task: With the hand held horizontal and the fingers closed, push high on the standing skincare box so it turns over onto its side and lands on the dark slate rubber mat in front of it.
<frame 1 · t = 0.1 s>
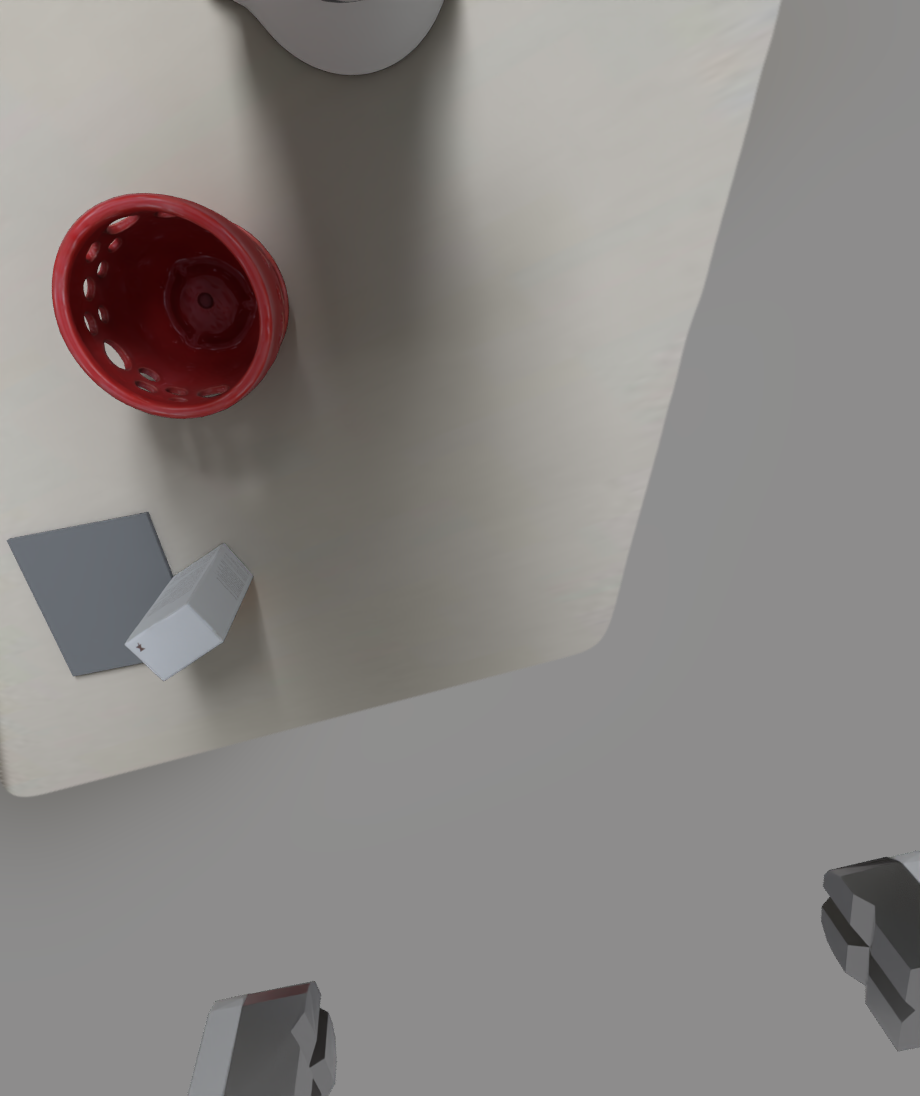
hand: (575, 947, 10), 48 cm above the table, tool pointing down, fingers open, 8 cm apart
plant pot: (215, 306, 50), on the table
skincare box: (215, 574, 58), on the table
slate mat: (110, 596, 58), on the table
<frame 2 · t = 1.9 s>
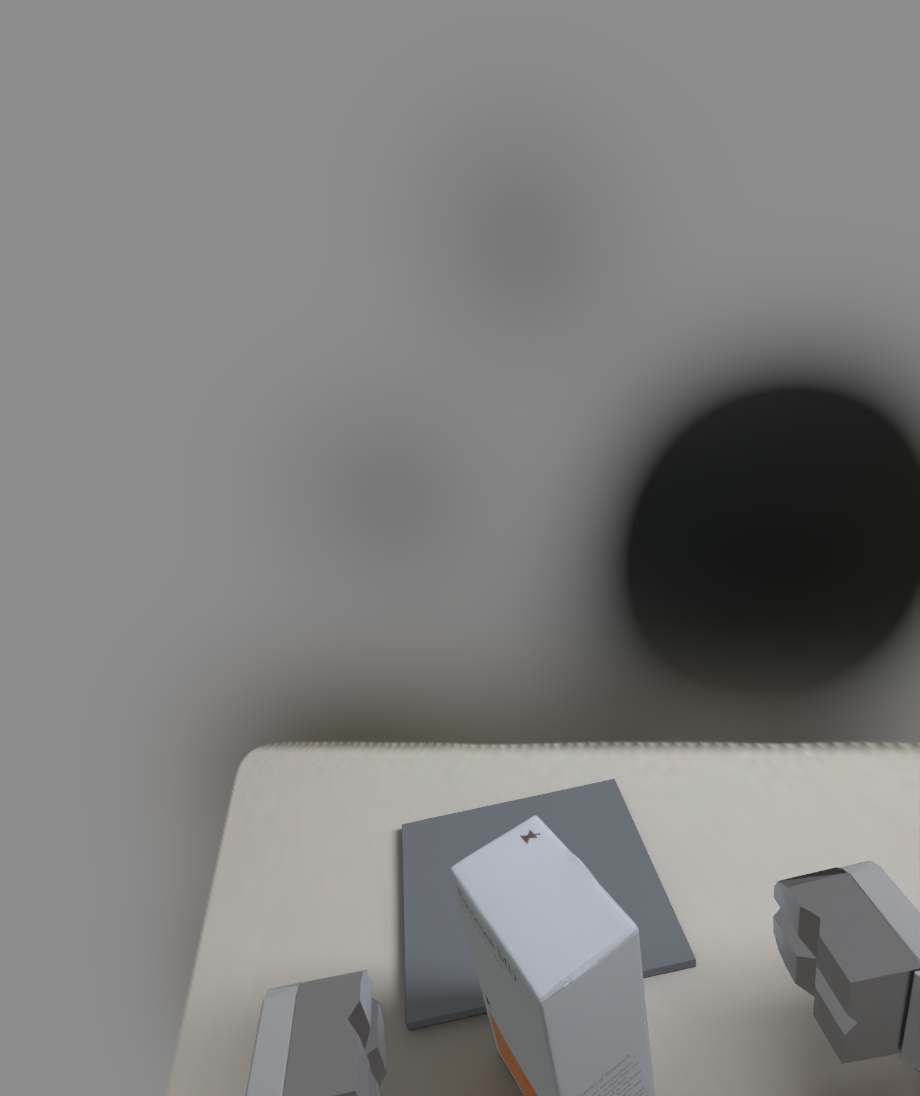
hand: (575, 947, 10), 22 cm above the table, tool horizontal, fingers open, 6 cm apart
skincare box: (573, 1088, 27), on the table
slate mat: (528, 888, 36), on the table
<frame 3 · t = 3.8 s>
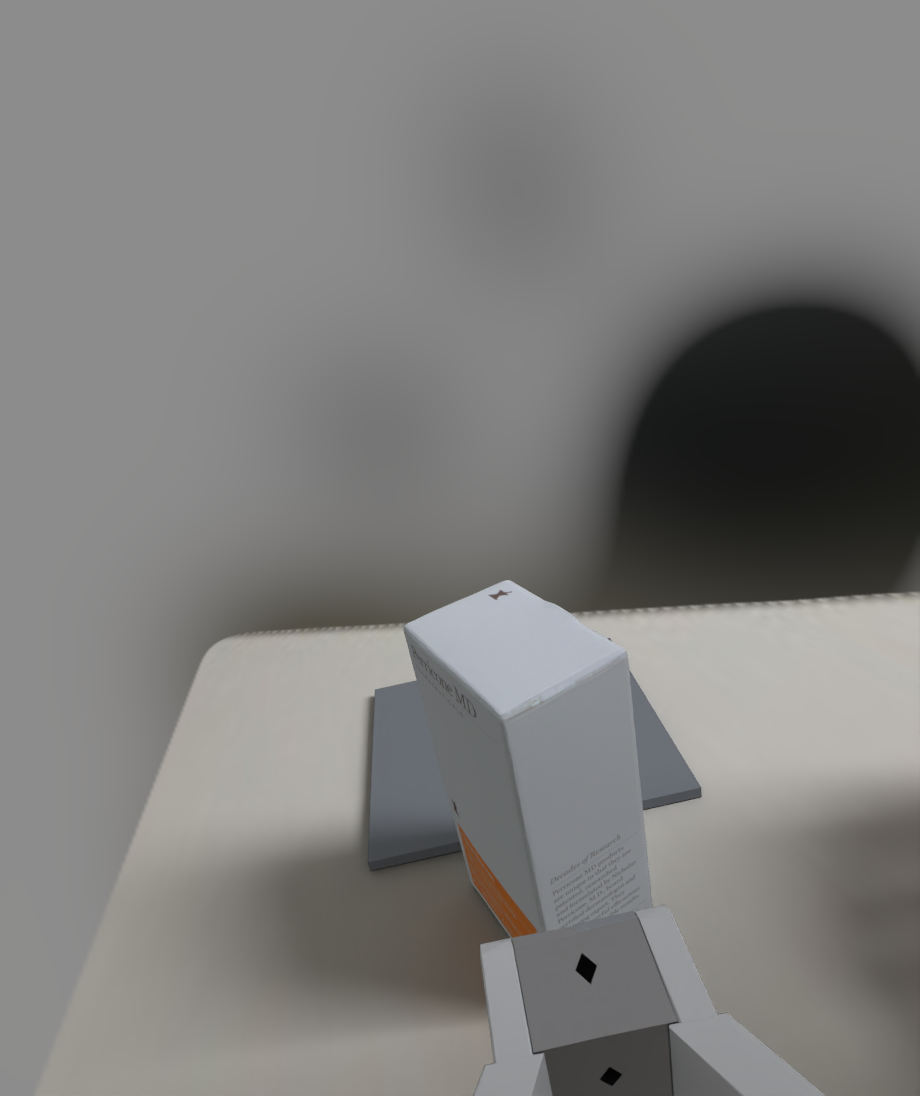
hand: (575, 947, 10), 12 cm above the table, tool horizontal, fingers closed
skincare box: (558, 916, 23), on the table
slate mat: (511, 738, 32), on the table
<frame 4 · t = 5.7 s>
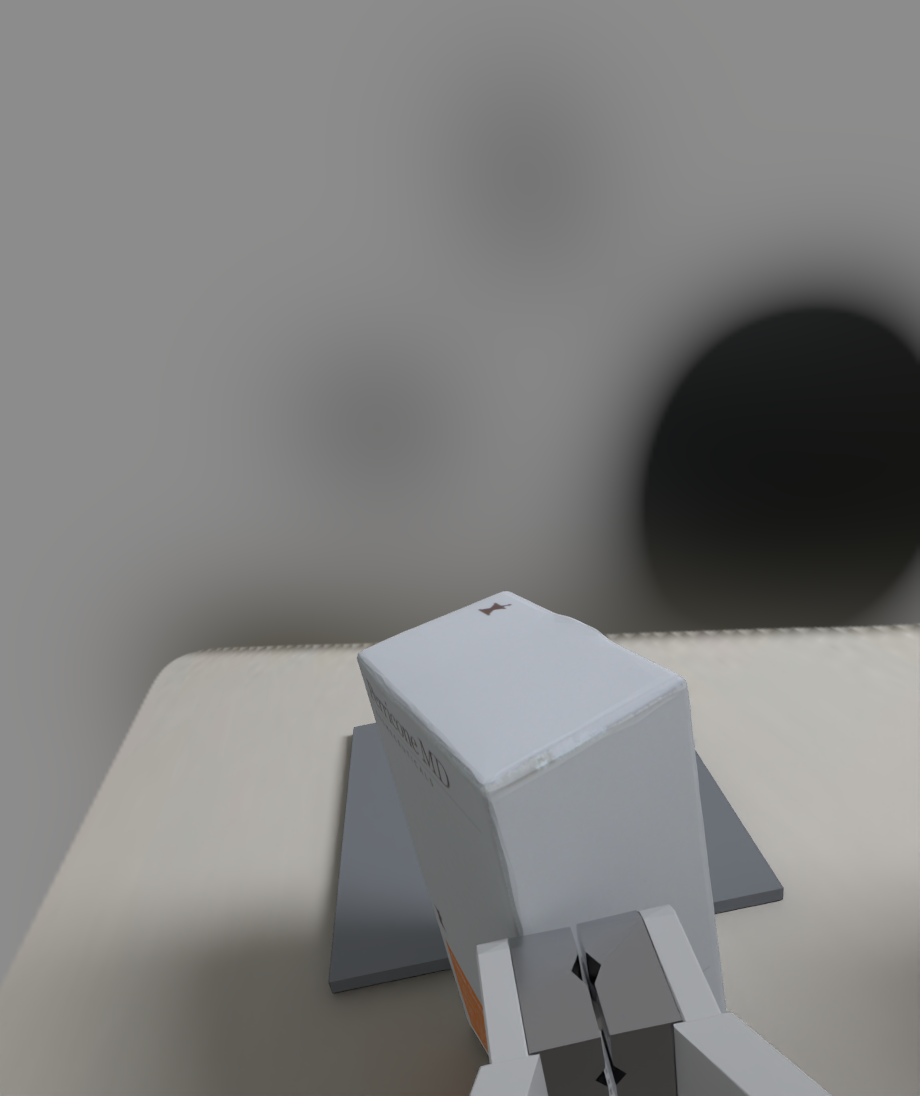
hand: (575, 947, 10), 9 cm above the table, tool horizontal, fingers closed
skincare box: (592, 1080, 16), on the table, touching gripper
slate mat: (523, 799, 25), on the table
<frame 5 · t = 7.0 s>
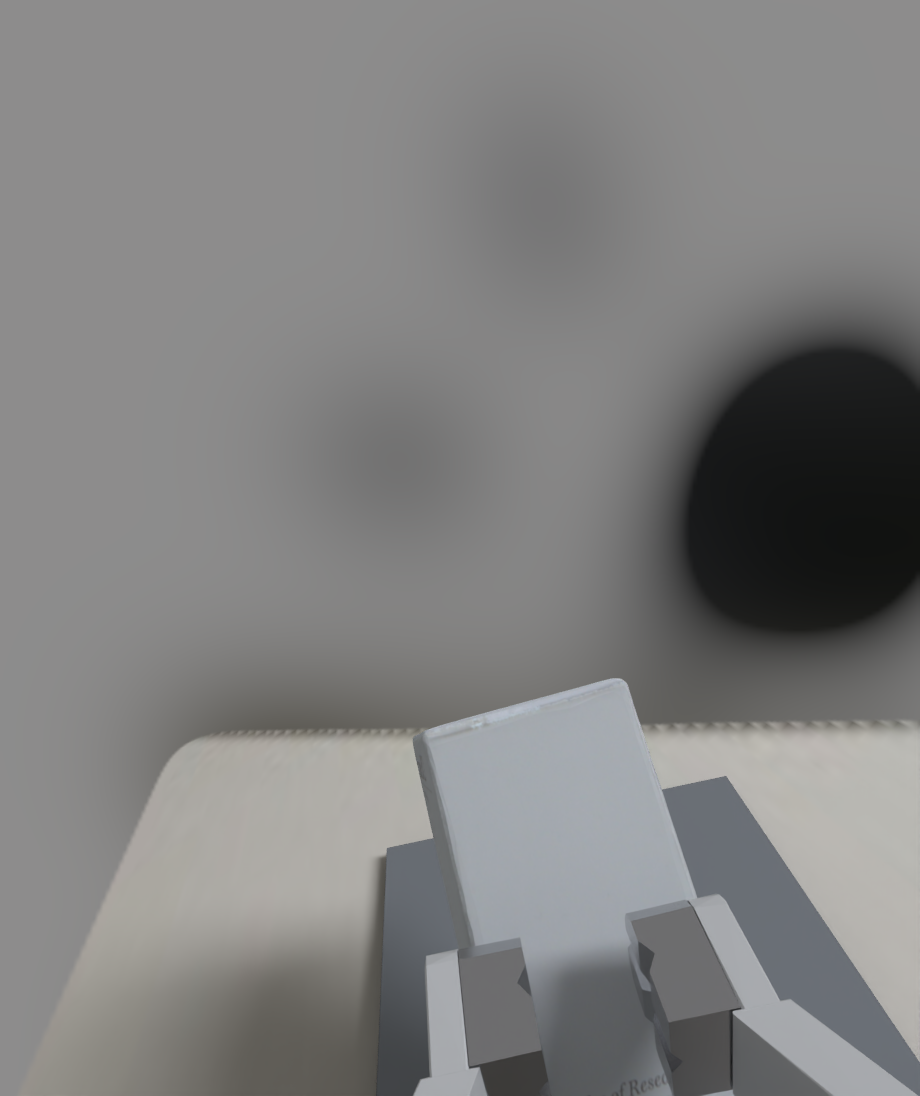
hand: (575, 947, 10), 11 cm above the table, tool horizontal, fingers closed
slate mat: (598, 962, 20), on the table
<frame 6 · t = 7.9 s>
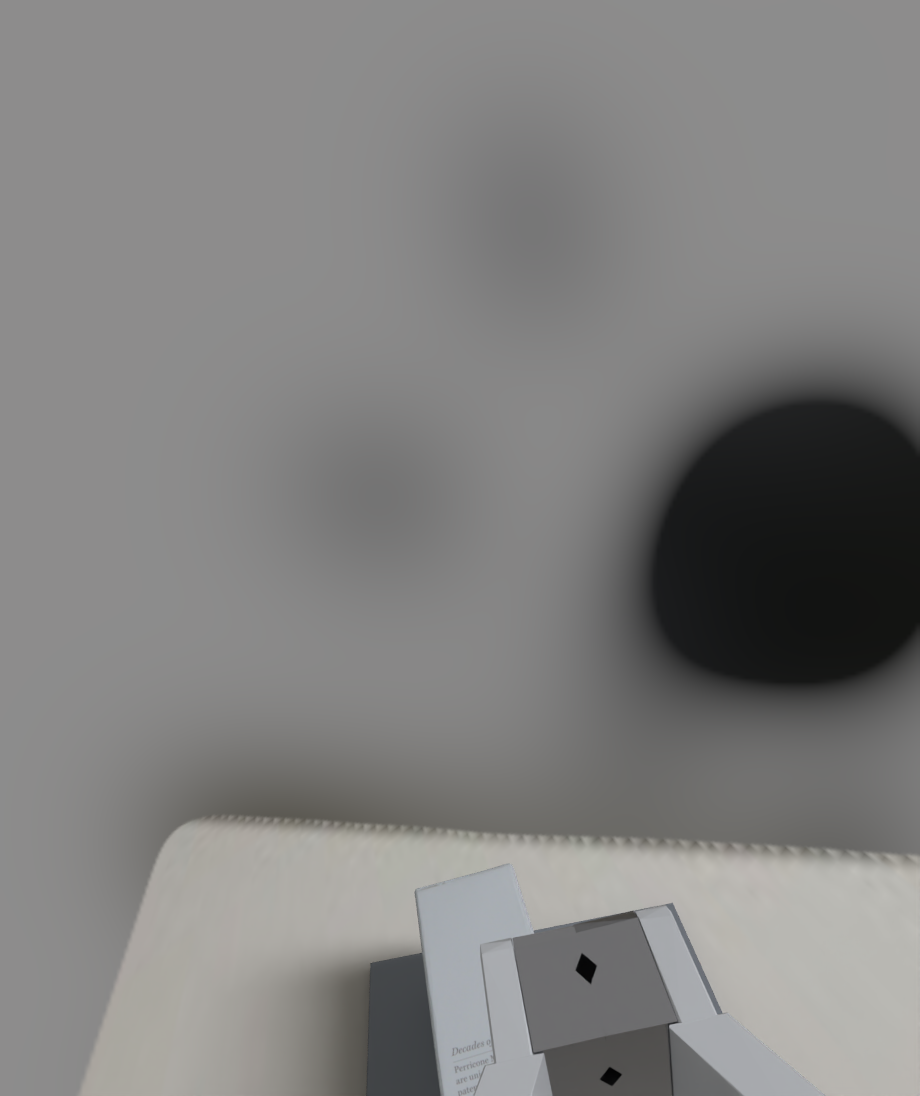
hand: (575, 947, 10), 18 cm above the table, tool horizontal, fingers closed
slate mat: (554, 1092, 24), on the table
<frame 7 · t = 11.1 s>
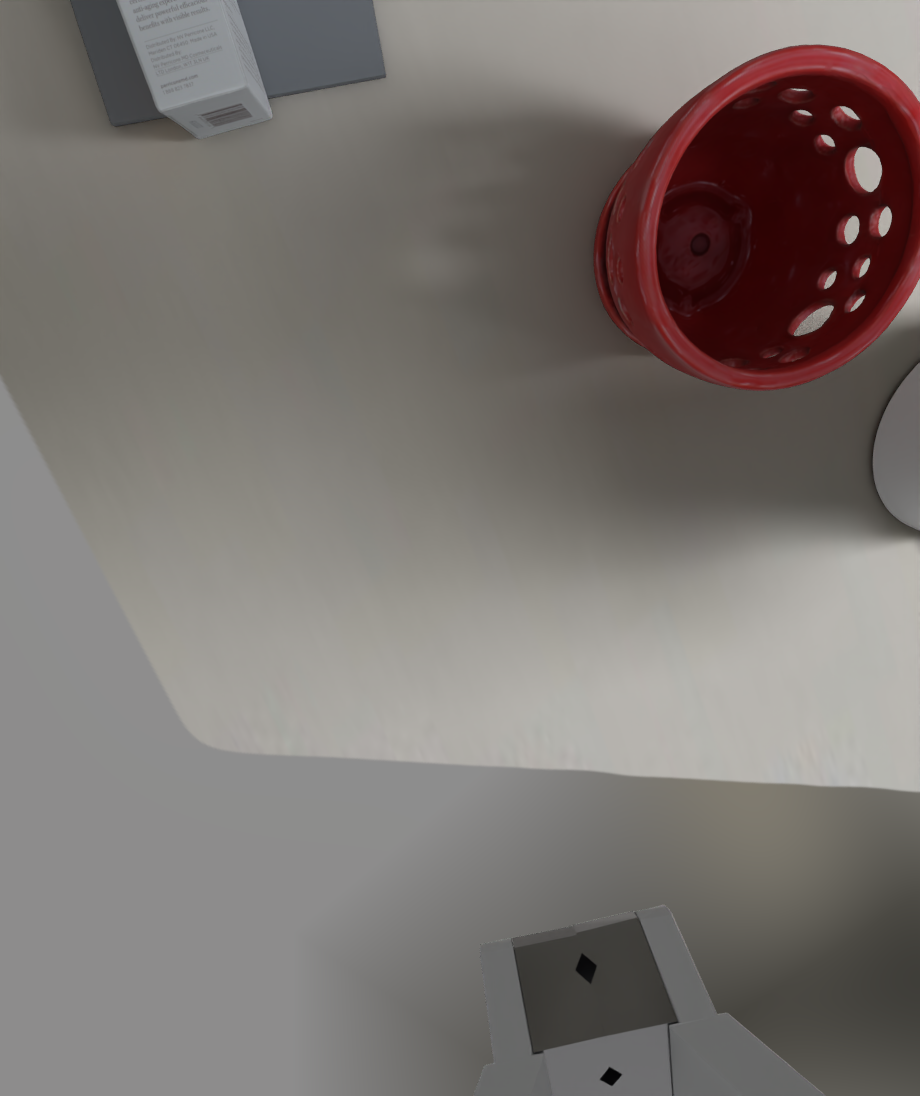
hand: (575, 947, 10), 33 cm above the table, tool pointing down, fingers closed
plant pot: (675, 248, 38), on the table
skincare box: (221, 122, 30), point 4 cm above the table, touching slate mat
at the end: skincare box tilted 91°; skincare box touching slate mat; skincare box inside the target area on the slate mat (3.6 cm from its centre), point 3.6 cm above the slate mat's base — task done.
